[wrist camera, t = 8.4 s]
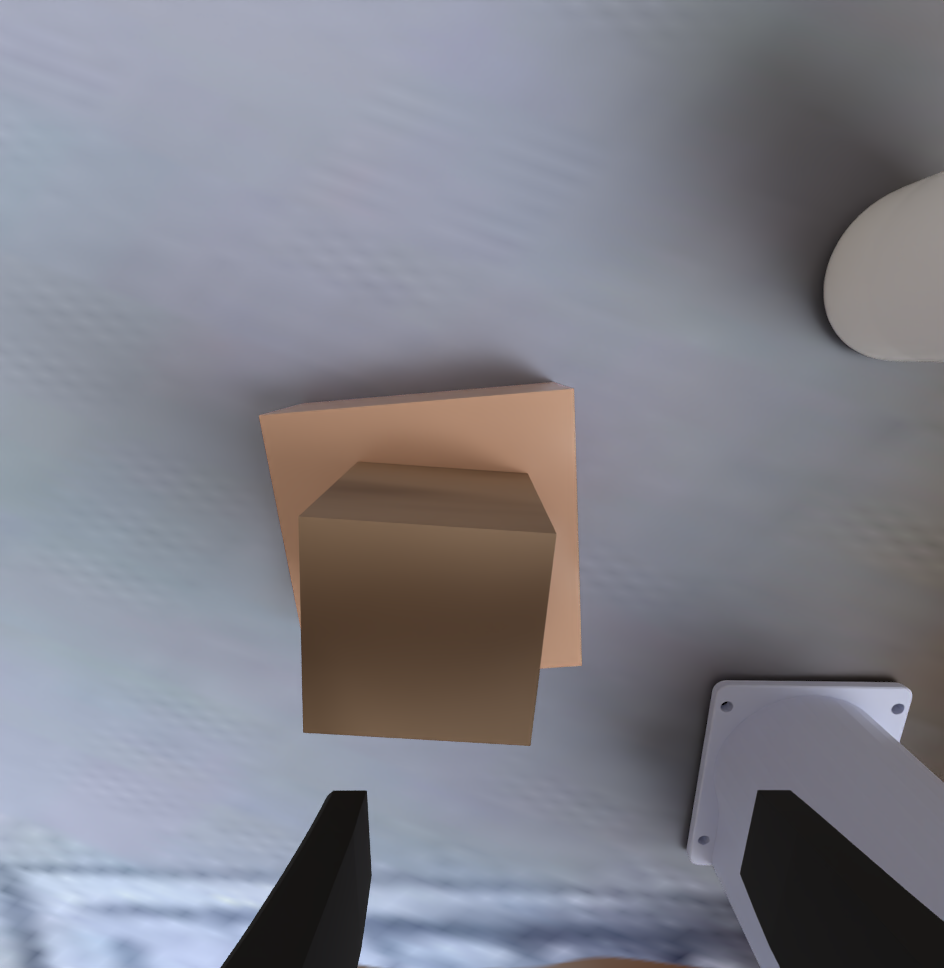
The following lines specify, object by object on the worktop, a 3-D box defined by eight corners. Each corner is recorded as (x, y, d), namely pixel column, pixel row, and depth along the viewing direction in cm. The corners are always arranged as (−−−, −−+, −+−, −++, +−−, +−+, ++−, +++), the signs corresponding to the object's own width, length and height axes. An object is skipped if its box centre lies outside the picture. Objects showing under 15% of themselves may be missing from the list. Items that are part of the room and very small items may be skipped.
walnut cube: (512, 624, 15) (530, 745, 11) (356, 614, 15) (303, 732, 11) (527, 473, 14) (556, 533, 9) (357, 461, 14) (298, 516, 9)
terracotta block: (560, 604, 20) (581, 665, 16) (343, 620, 20) (311, 684, 16) (551, 381, 17) (573, 388, 14) (305, 402, 18) (258, 415, 14)
